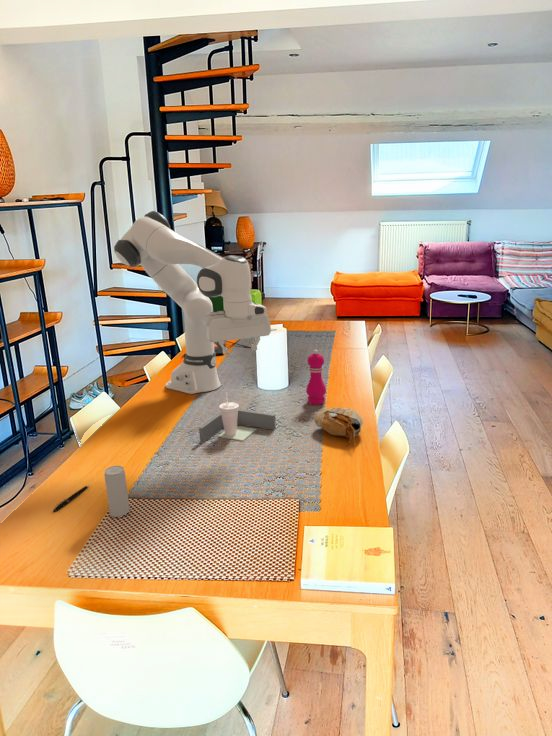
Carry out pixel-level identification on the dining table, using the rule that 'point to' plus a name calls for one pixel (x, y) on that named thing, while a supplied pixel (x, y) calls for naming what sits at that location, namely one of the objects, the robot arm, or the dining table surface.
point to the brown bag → (340, 422)
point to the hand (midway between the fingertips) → (240, 352)
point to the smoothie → (229, 416)
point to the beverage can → (117, 491)
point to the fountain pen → (69, 499)
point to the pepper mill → (316, 379)
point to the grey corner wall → (242, 432)
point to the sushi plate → (219, 349)
